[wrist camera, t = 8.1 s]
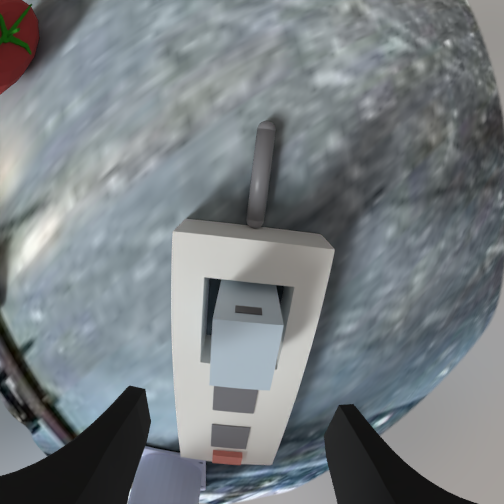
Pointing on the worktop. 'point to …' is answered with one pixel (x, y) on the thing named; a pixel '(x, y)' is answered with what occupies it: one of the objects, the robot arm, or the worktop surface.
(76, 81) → the worktop surface
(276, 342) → the block
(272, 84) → the worktop surface
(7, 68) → the tomato
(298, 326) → the power strip
